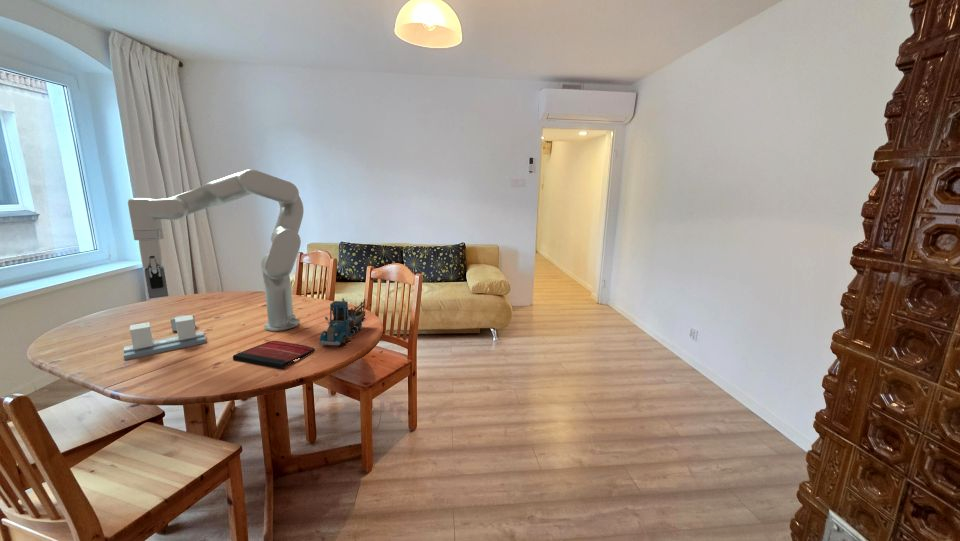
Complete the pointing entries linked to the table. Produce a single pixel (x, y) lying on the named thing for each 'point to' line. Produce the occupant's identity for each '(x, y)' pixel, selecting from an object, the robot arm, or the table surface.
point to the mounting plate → (163, 347)
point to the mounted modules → (144, 336)
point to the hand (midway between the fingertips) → (157, 285)
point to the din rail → (163, 342)
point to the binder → (273, 354)
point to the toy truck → (342, 323)
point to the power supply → (175, 322)
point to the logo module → (157, 291)
